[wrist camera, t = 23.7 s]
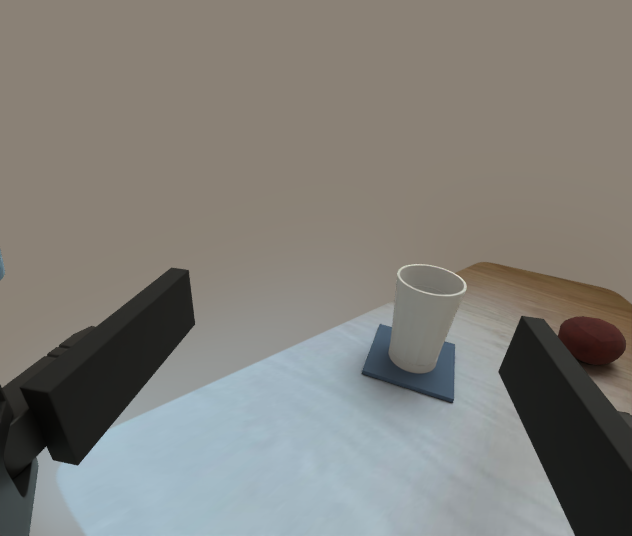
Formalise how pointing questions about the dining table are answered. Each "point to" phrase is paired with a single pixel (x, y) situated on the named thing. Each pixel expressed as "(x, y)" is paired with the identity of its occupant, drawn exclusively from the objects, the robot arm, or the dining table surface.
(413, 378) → the mat
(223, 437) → the dining table surface
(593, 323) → the potato
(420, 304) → the cup
